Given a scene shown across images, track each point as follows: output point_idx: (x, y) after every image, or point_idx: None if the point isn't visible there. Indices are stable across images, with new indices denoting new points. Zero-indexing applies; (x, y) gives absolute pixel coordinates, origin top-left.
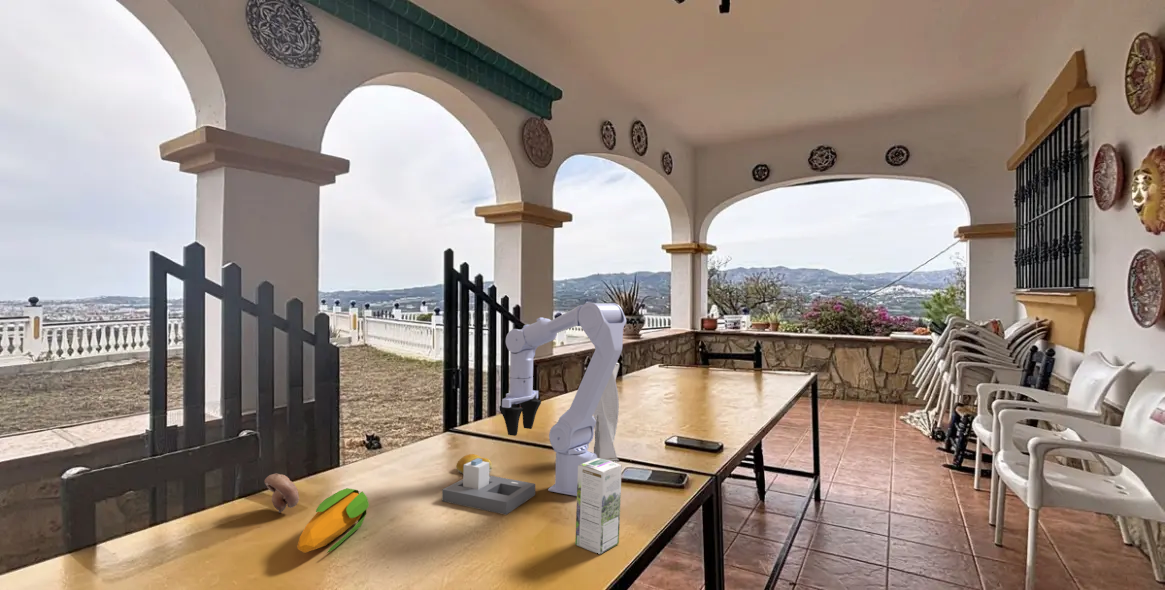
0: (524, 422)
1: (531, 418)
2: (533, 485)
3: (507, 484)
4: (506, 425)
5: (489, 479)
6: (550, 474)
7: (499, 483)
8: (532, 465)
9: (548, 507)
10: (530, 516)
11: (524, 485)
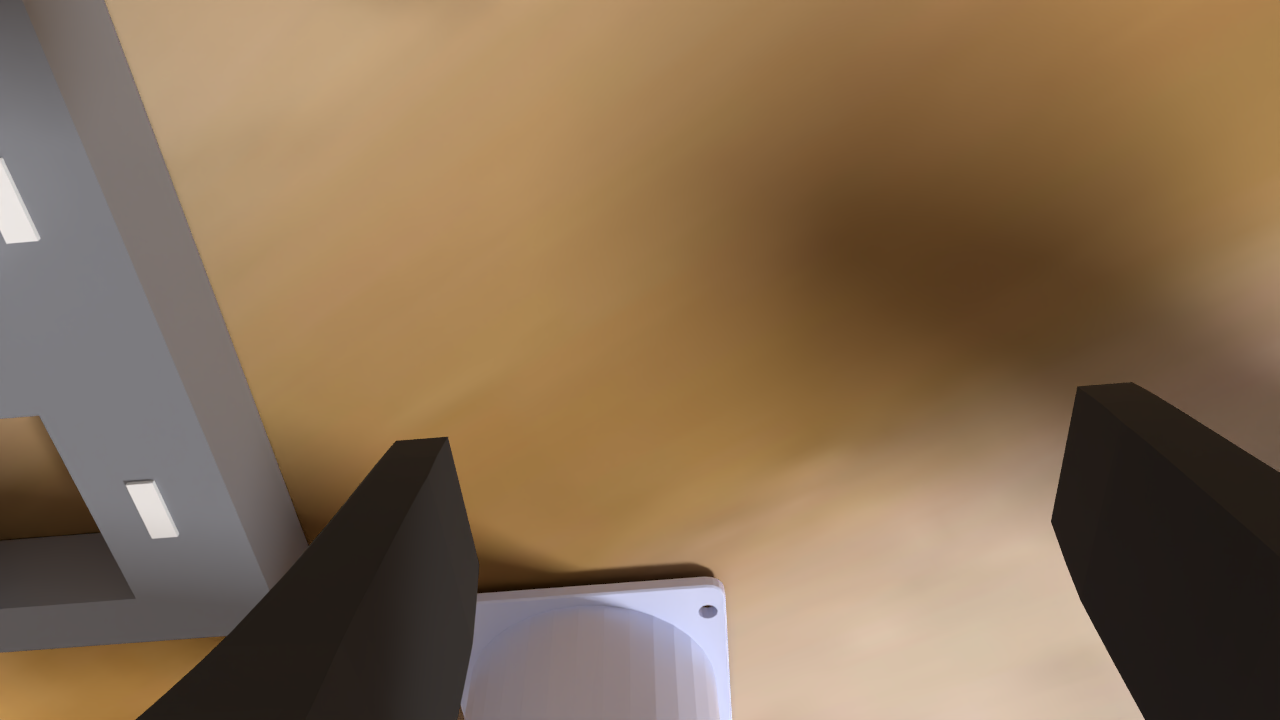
0: (1139, 477)
1: (1164, 711)
2: None
3: (76, 478)
4: (295, 574)
5: (7, 262)
6: (832, 419)
7: (26, 410)
8: (1045, 110)
9: None
10: (12, 697)
11: (181, 593)
